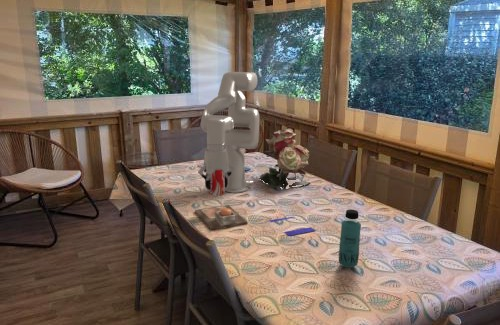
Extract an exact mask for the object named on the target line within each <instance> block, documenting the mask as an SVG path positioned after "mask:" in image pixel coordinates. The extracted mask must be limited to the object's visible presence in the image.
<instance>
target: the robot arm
mask: <svg viewBox="0 0 500 325" xmlns="http://www.w3.org/2000/svg"><path fill="white" fill-rule="evenodd" d="M258 80H259V79H258V76H257V73H255V72H251V71H248V72H247V71H246V72H245V71H228V72H226V73H223V75H222V78H221V81H220V85H219V90H218V92H217V96H216V97H214V98H213V99H212V100H210V101H209V102H208V103H207V104H206V106H205V107H204V109H203V112H202V116H201V120H200V128H201V130H202V131H203V132H205V133H206V146H207V147H206V148H207V150H204V157H203V164H204V166H203V167H202V168H201V167H200V169H199V170H198V171H197V173H198V174H199V175H200V177H202V179H204V186H205V188H206V189H207V190H208V191H209V190H210V180H209V178H210V175H211V174H212V173H213V172H214V169H222V170H223V172H224V174H225V191H224V192H227V193H231V194H232V193H233V194H236V193H243V192H246V191H247V190H248V186H249V185H250V186H251V185H254V181H253V180H245V177H246V176H245V175H246V173H245V167H246V166H245V162H246V160H245V159H246V158H245V154H244V153H243V151H242V149H245V150H246V149H247V150H255V149H256V148H258V146H259V143H260V142H259V141H260V140H259V139H260V113H259V110H258V109H256V108H251V107H249V108H248V107H246V96H245V94H244V93H243V92H244V91H245V92H250V91H254V90H255V89H256V88H257V86H258ZM225 109H228V110H227V115H218V114H217V115H215V114H216V113H217V112H221V111H223V110H225ZM236 127H239V128H249V129H236ZM234 128H235V129H234ZM203 172H204V173H205V174H204V173H203Z"/></svg>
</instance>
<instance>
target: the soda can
mask: <svg viewBox="0 0 500 325" xmlns="http://www.w3.org/2000/svg"><path fill="white" fill-rule="evenodd" d="M209 180H210V190H208V194H209V195H210V196H213V197H221V196H223V195H224V194H225V192H226V191H225V174H224V172H223V170H222V169H214V172H213V173H212V174H211V175H210V178H209Z"/></svg>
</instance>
